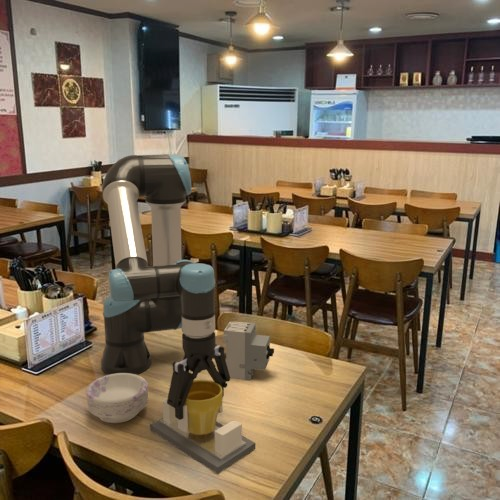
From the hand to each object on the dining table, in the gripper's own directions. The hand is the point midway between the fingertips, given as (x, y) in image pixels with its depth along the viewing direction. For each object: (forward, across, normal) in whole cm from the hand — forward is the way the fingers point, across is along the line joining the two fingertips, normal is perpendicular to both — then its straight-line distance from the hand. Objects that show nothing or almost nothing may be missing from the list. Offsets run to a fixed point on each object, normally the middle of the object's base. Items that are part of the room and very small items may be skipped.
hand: (200, 419), depth 121 cm
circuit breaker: (+5, +32, +14) cm, 35 cm away
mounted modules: (+3, 0, 0) cm, 3 cm away
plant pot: (+2, 0, 0) cm, 2 cm away
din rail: (+3, 0, 0) cm, 3 cm away
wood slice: (+6, +40, +30) cm, 50 cm away
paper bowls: (+5, -7, +24) cm, 25 cm away
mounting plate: (+5, 0, 0) cm, 5 cm away
